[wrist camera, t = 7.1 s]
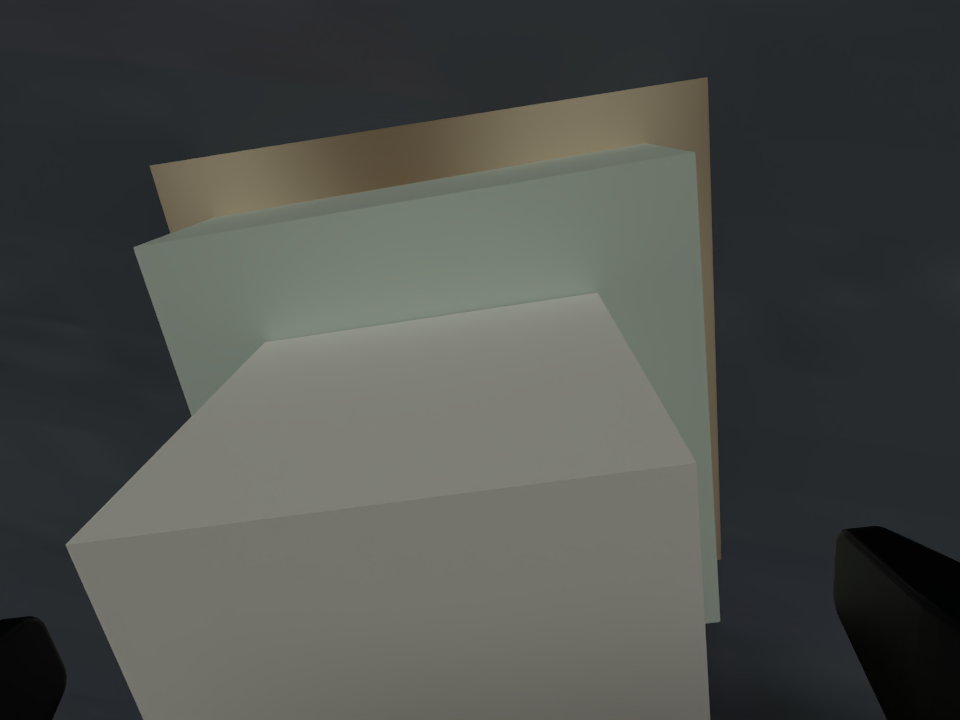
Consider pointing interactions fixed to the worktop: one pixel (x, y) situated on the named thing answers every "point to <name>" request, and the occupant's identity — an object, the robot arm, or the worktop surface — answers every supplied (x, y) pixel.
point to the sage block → (458, 273)
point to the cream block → (414, 533)
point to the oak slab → (460, 168)
